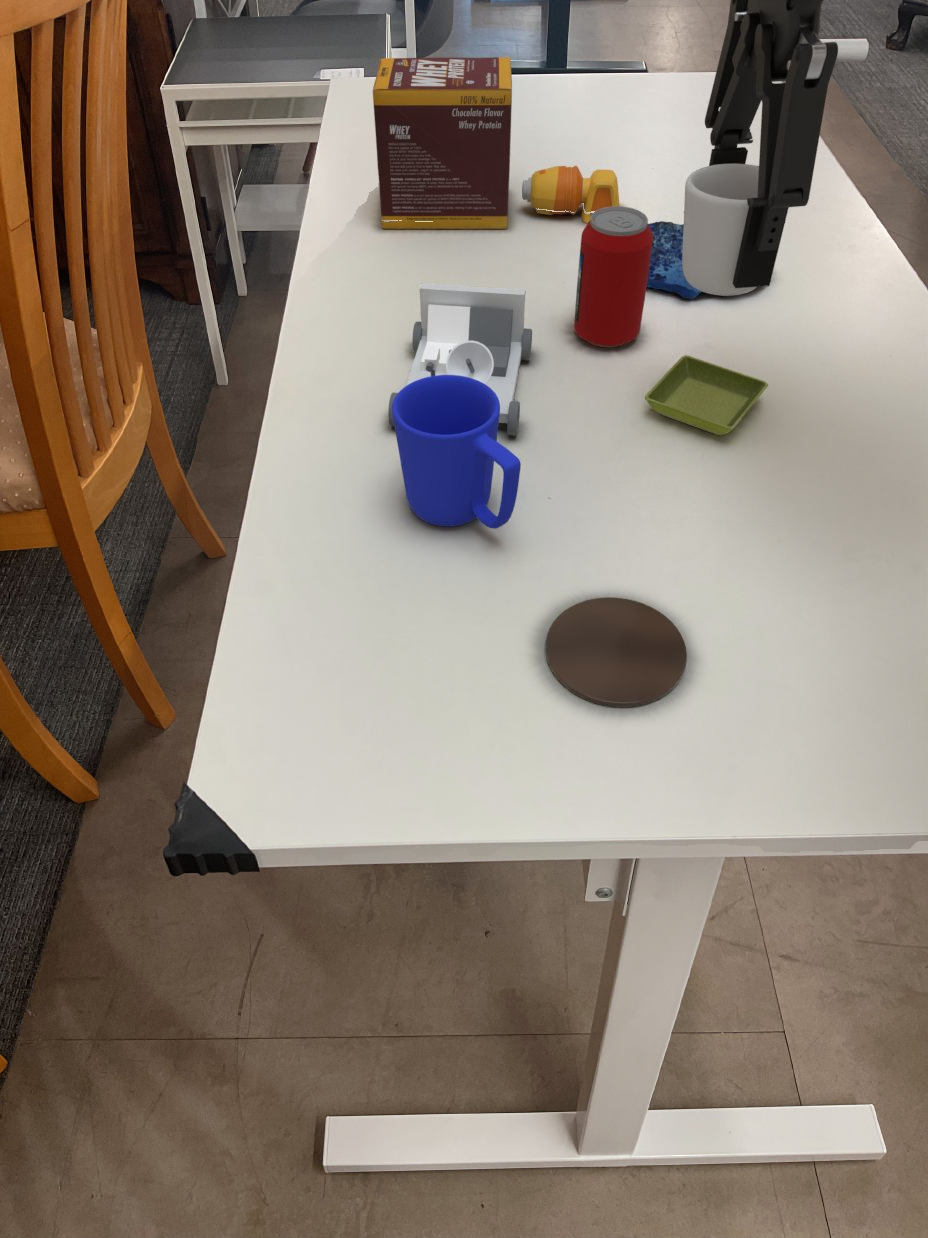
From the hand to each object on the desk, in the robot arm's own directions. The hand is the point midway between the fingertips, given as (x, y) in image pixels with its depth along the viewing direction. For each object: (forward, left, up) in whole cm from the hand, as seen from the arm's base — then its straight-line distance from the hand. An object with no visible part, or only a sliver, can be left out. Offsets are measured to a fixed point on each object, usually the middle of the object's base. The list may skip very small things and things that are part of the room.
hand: (731, 256), depth 76 cm
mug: (-11, +23, -15) cm, 30 cm away
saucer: (+1, -1, -15) cm, 15 cm away
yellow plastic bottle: (+43, +3, -15) cm, 45 cm away
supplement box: (+46, +18, -15) cm, 52 cm away
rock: (+27, -7, -15) cm, 31 cm away
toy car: (+6, +21, -15) cm, 27 cm away
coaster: (-27, +14, -15) cm, 34 cm away
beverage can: (+15, +5, -15) cm, 22 cm away
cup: (0, 0, -2) cm, 2 cm away
